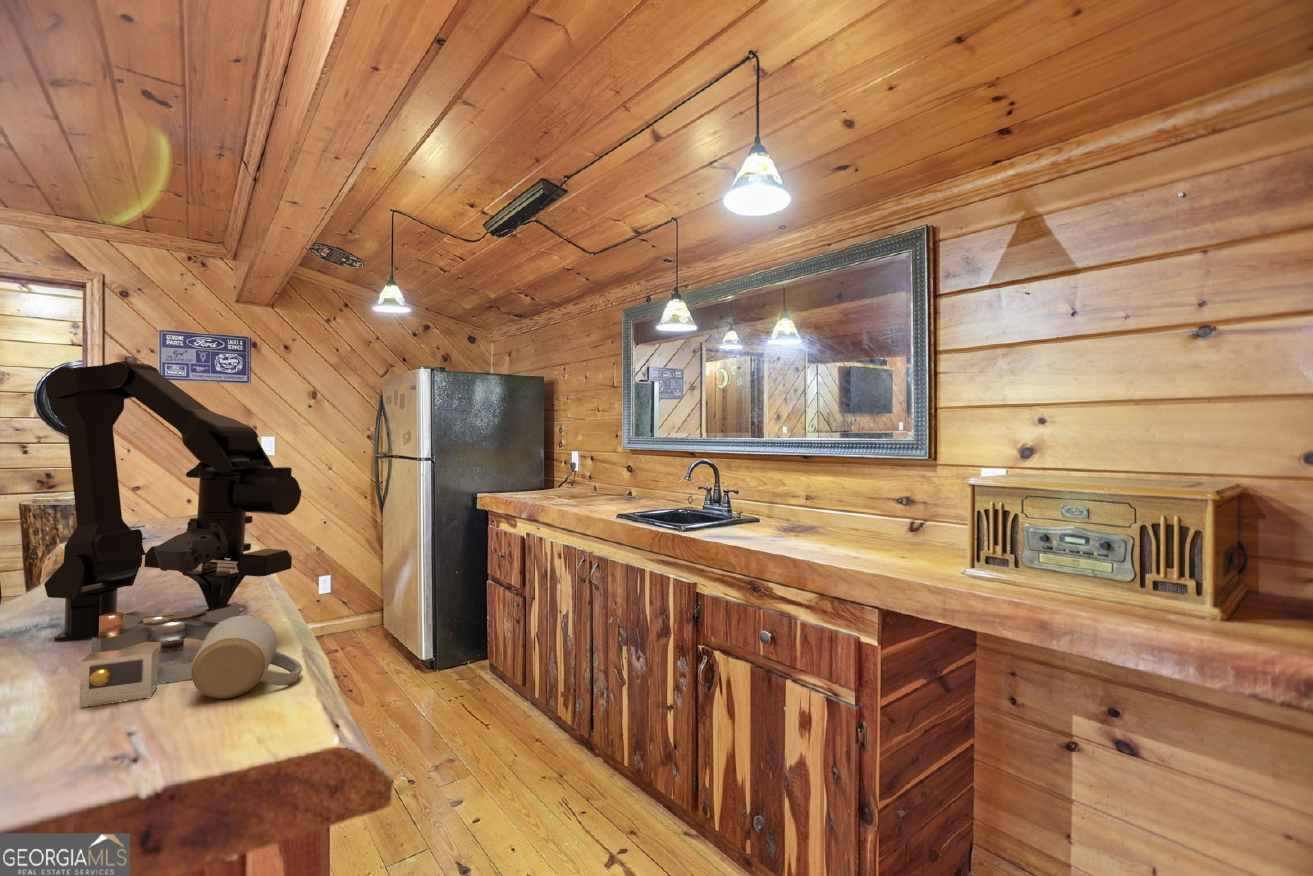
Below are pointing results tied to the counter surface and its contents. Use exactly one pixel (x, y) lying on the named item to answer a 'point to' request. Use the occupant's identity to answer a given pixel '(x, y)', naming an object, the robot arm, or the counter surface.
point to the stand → (135, 670)
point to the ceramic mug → (240, 658)
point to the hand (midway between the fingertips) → (216, 617)
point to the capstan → (158, 626)
